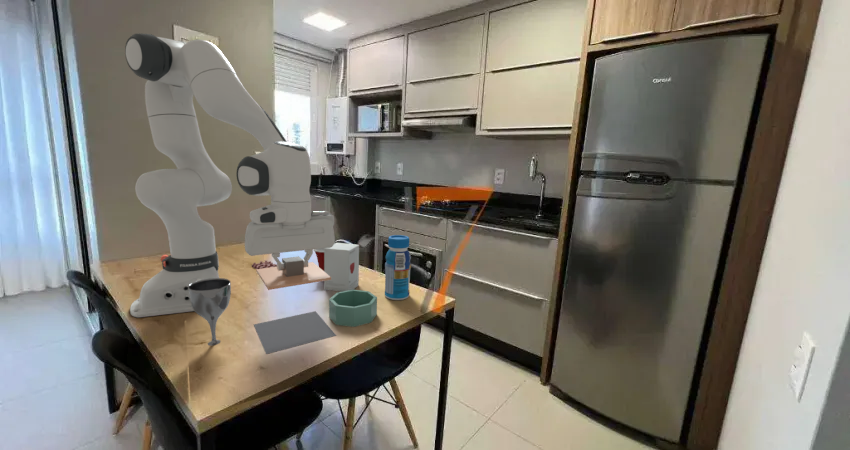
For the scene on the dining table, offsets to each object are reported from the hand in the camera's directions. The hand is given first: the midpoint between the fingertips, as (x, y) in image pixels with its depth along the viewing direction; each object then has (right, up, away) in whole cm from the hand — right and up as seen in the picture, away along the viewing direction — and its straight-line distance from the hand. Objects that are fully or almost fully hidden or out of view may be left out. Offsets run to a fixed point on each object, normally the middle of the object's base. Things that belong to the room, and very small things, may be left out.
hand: (292, 268), depth 83 cm
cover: (0, -2, 0) cm, 2 cm away
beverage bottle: (+23, -13, +30) cm, 40 cm away
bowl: (+12, -16, +12) cm, 23 cm away
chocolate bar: (-27, -8, +49) cm, 57 cm away
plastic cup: (-4, -9, +44) cm, 45 cm away
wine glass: (-16, -18, -4) cm, 24 cm away
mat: (-1, -17, +3) cm, 17 cm away
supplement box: (+4, -11, +34) cm, 36 cm away
